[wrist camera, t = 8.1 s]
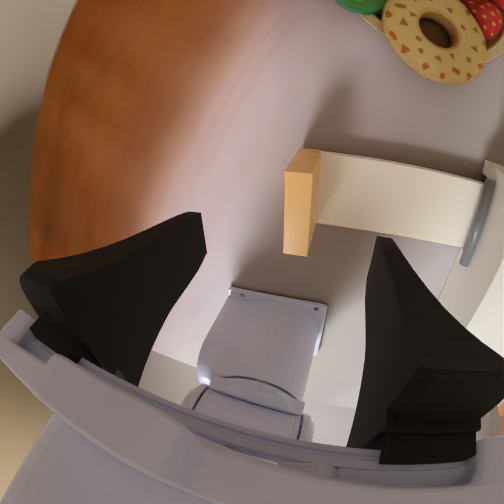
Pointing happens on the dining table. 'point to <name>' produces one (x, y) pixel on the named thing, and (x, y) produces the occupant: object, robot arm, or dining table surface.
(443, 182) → the cream block orange end
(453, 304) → the cream rectangular block
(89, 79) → the dining table surface
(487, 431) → the donut
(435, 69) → the toy food set
